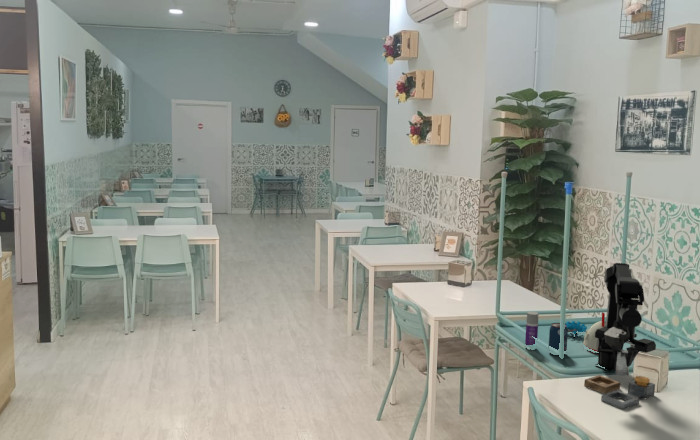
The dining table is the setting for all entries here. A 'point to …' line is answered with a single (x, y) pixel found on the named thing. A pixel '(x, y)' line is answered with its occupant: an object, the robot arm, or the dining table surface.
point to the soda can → (557, 336)
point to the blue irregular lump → (575, 327)
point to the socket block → (629, 395)
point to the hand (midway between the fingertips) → (622, 364)
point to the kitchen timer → (593, 334)
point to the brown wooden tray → (602, 384)
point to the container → (531, 328)
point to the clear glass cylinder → (622, 363)
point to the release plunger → (642, 380)
